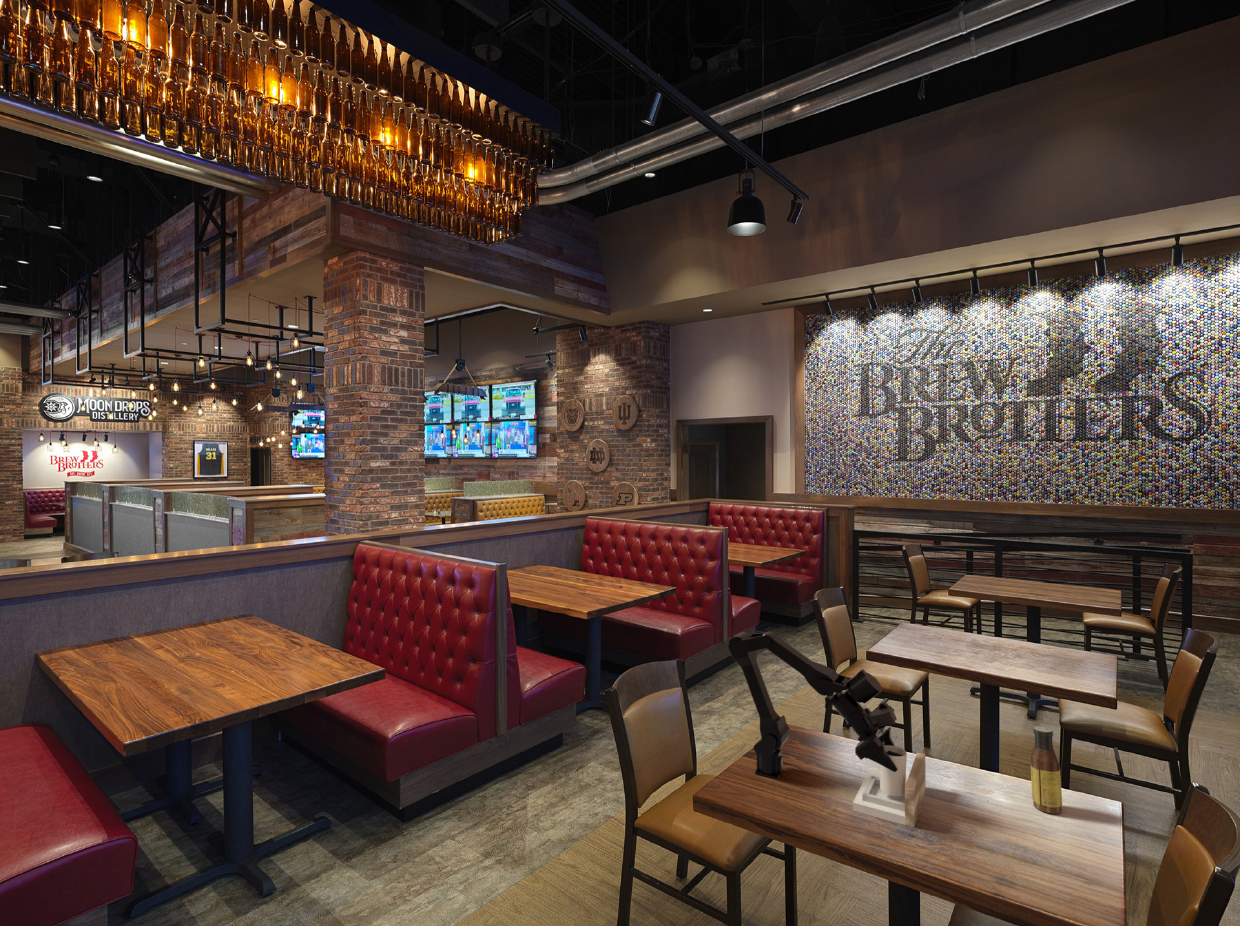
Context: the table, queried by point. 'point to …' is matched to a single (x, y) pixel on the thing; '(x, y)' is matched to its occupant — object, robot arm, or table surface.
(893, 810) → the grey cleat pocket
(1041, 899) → the table surface
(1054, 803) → the sauce bottle
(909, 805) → the ash wall board
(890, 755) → the white coffee cup
